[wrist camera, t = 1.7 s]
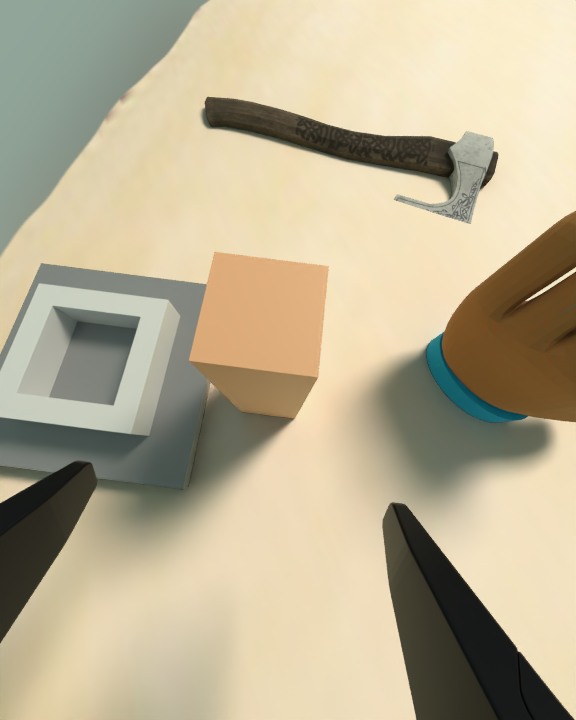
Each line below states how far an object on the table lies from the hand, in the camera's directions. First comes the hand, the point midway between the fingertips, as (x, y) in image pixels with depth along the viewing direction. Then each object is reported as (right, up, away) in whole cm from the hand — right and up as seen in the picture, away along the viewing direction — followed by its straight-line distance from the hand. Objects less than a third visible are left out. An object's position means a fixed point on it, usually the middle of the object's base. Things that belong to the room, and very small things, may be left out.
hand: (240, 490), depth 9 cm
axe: (+6, +24, +21) cm, 33 cm away
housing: (-12, +3, +13) cm, 18 cm away
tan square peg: (0, +2, +13) cm, 13 cm away
